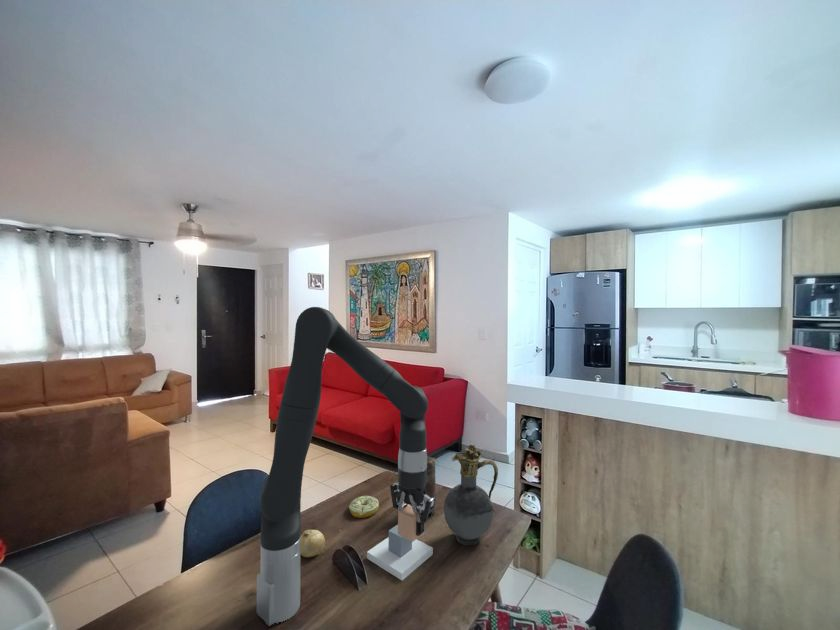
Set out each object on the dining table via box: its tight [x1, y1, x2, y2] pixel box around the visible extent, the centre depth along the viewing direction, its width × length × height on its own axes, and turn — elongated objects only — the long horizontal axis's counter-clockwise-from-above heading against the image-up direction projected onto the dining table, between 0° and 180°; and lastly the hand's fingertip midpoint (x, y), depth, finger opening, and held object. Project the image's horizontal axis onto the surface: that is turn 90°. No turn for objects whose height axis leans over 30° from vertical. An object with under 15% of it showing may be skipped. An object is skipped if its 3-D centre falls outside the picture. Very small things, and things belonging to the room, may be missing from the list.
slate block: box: [388, 524, 412, 558], centre depth 109 cm, size 5×5×6 cm
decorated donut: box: [348, 495, 380, 519], centre depth 133 cm, size 10×11×4 cm
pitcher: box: [443, 444, 499, 546], centre depth 118 cm, size 11×19×30 cm, turn 113°
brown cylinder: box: [417, 455, 437, 515], centre depth 133 cm, size 8×7×20 cm
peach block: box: [397, 504, 426, 542], centre depth 94 cm, size 5×5×6 cm
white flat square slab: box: [366, 536, 434, 581], centre depth 109 cm, size 14×14×2 cm
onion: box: [300, 528, 326, 558], centre depth 110 cm, size 8×8×7 cm
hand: (411, 529), depth 94 cm, fingers closed on peach block, 5 cm apart
